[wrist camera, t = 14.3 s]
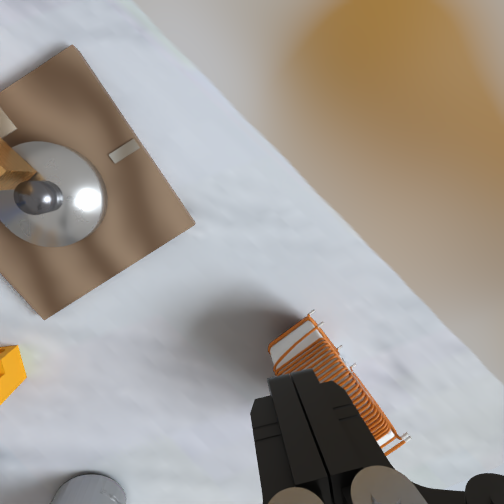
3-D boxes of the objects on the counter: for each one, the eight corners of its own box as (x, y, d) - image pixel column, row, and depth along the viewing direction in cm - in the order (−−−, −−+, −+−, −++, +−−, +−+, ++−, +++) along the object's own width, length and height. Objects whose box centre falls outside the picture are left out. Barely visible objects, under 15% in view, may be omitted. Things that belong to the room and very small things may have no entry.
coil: (319, 397, 43) (371, 507, 29) (255, 322, 39) (279, 406, 25) (359, 368, 43) (432, 465, 28) (299, 289, 39) (348, 355, 24)
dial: (128, 199, 32) (108, 204, 26) (61, 262, 33) (26, 281, 27) (4, 76, 28) (-54, 48, 22) (-68, 151, 29) (-143, 144, 23)
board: (51, 314, 36) (43, 321, 34) (-89, 161, 30) (-106, 160, 29) (195, 222, 35) (194, 225, 33) (79, 50, 30) (71, 43, 28)
